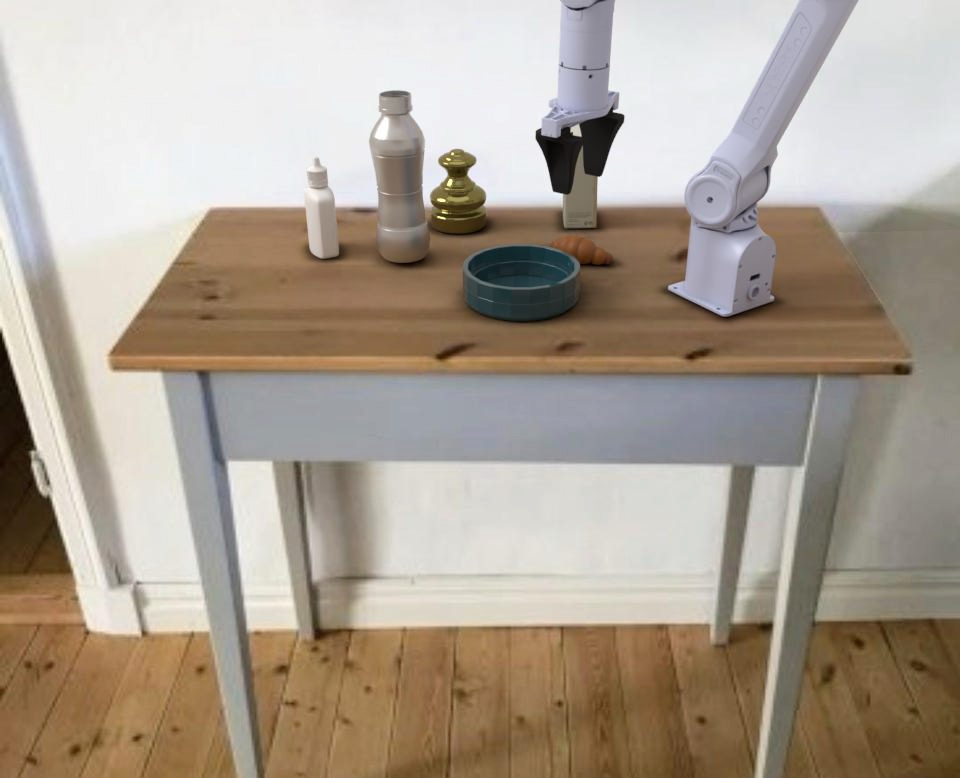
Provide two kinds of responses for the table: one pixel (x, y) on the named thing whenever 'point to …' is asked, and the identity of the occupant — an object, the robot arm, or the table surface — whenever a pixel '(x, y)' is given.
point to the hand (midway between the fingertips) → (577, 183)
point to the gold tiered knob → (458, 196)
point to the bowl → (521, 282)
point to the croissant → (582, 249)
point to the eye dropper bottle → (320, 213)
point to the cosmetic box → (581, 196)
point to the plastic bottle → (399, 180)
